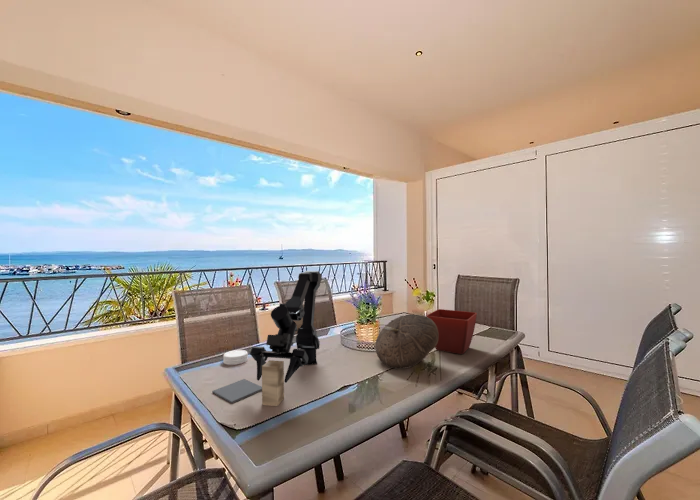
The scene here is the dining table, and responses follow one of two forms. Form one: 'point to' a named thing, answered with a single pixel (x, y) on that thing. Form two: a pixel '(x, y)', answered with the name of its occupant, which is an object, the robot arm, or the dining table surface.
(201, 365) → the dining table surface
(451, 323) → the plant pot
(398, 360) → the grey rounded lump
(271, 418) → the dining table surface
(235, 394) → the charcoal mat
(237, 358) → the white short cylinder
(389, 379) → the dining table surface
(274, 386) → the beech block
